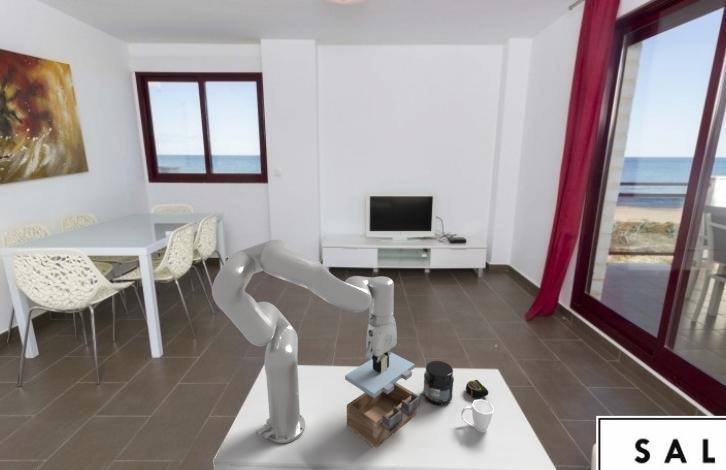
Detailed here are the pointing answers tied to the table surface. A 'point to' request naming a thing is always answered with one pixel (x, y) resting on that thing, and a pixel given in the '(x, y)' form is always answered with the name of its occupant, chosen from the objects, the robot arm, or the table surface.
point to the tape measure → (476, 389)
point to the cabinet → (381, 414)
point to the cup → (480, 414)
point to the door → (380, 375)
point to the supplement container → (438, 383)
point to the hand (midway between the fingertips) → (380, 367)
